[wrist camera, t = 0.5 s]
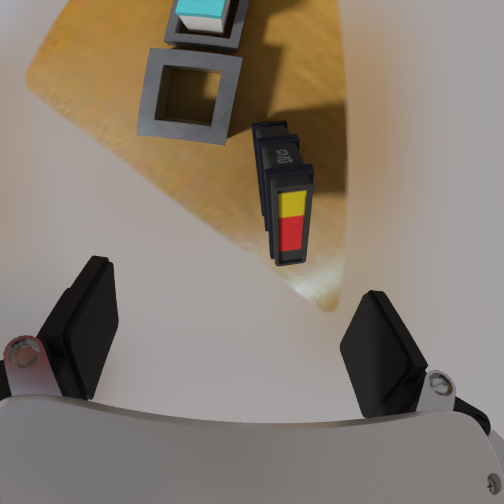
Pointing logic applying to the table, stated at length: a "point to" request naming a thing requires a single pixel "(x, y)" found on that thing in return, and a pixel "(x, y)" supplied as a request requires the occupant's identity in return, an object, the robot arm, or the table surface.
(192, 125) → the port block
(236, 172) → the table surface
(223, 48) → the grey square frame
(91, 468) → the robot arm
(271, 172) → the magazine
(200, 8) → the plug
